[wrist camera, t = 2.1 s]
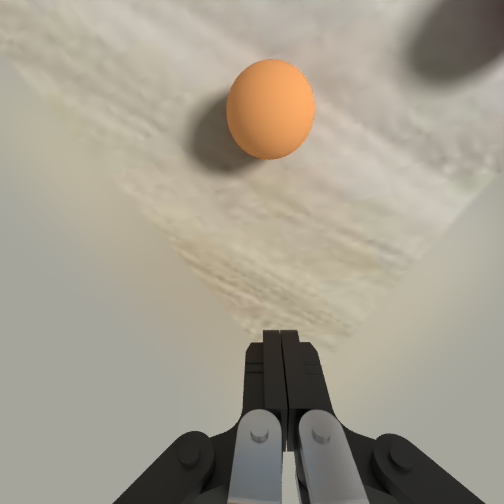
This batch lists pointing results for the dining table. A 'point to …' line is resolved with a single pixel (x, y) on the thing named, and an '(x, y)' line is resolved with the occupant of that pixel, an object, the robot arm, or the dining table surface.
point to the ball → (270, 109)
